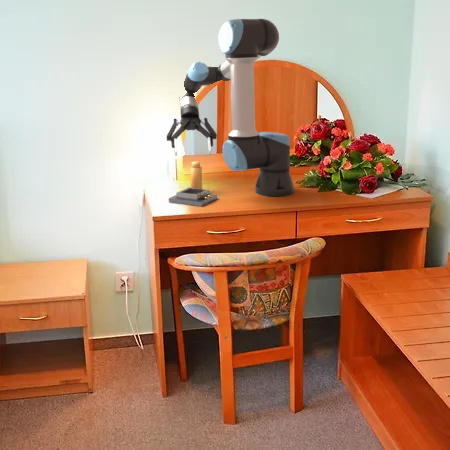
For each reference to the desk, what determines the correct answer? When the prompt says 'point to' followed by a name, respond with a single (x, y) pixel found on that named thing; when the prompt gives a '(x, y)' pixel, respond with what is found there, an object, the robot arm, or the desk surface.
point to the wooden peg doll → (196, 175)
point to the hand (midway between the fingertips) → (193, 153)
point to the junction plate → (193, 197)
